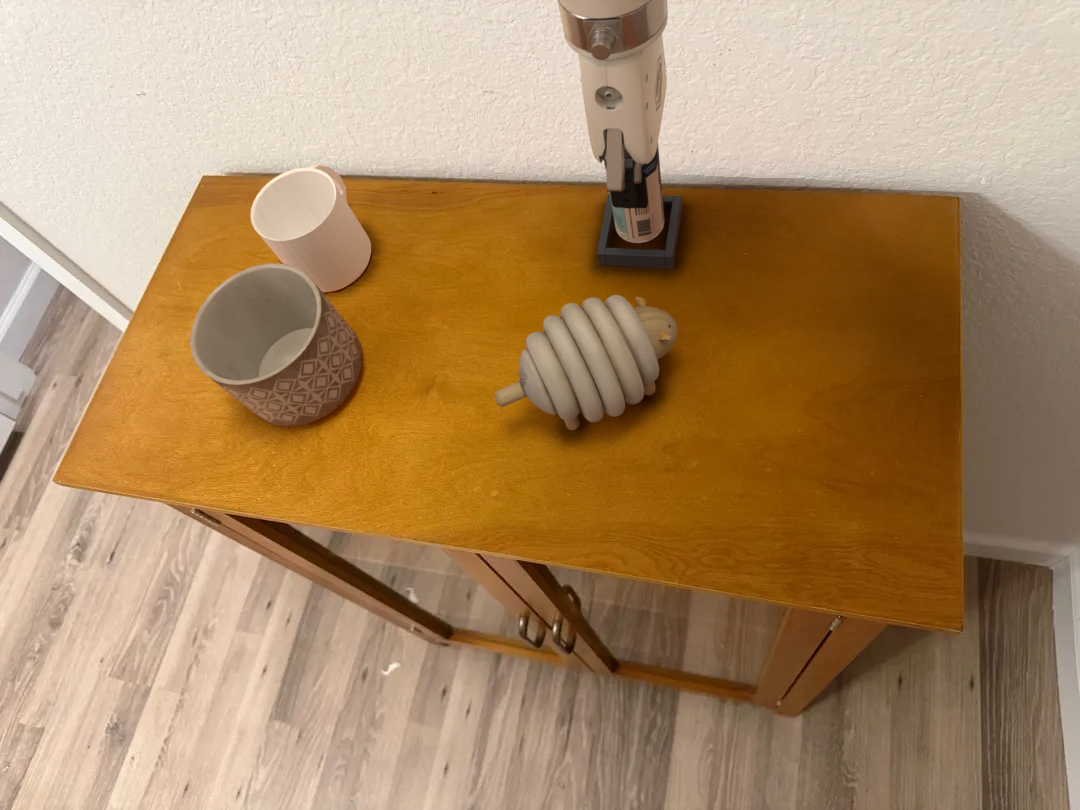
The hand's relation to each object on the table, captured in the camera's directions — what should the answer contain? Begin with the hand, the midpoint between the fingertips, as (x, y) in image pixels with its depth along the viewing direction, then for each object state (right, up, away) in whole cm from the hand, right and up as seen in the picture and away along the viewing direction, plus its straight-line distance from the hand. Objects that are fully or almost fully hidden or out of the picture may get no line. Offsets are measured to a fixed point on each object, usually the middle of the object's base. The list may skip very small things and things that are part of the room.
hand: (634, 179), depth 70 cm
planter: (-32, -17, +8) cm, 38 cm away
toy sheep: (-3, -19, +1) cm, 19 cm away
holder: (+1, -4, +8) cm, 8 cm away
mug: (-31, -3, +15) cm, 34 cm away
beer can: (+1, -3, +6) cm, 7 cm away
